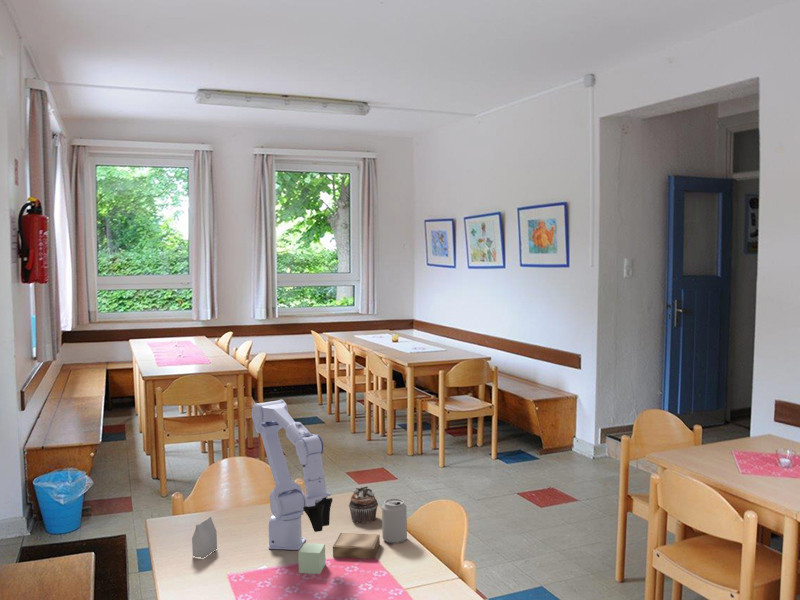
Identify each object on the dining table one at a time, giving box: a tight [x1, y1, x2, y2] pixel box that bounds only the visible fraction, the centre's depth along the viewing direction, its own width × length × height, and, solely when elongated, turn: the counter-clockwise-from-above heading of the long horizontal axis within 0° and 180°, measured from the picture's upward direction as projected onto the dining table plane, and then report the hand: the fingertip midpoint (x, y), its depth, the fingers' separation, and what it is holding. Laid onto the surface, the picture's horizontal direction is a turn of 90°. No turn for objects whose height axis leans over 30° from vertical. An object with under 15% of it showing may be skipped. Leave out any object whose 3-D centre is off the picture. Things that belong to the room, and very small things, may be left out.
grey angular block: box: [191, 516, 218, 558], centre depth 207 cm, size 4×7×10 cm, turn 160°
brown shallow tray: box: [332, 532, 381, 560], centre depth 208 cm, size 12×10×3 cm
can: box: [381, 498, 408, 544], centre depth 215 cm, size 8×8×12 cm
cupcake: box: [348, 486, 379, 524], centre depth 233 cm, size 10×10×10 cm
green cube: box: [298, 542, 326, 575], centre depth 197 cm, size 6×6×6 cm
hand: (322, 528), depth 197 cm, fingers open, 7 cm apart
